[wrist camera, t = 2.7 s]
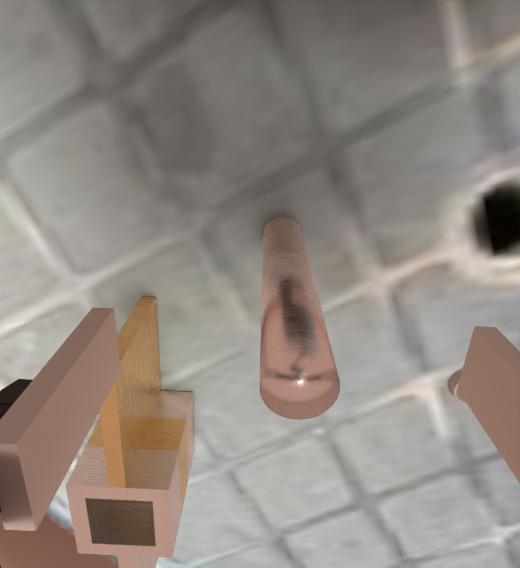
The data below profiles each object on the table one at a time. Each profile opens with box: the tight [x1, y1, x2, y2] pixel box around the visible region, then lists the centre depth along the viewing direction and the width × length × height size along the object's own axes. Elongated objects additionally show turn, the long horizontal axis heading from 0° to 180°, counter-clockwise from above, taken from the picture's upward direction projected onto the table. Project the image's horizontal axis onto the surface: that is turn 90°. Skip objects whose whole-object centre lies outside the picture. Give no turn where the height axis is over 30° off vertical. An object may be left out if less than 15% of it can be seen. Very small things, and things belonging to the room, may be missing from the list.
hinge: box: [66, 297, 194, 568], centre depth 30 cm, size 22×6×9 cm, turn 177°
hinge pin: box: [260, 216, 340, 419], centre depth 21 cm, size 2×2×16 cm
